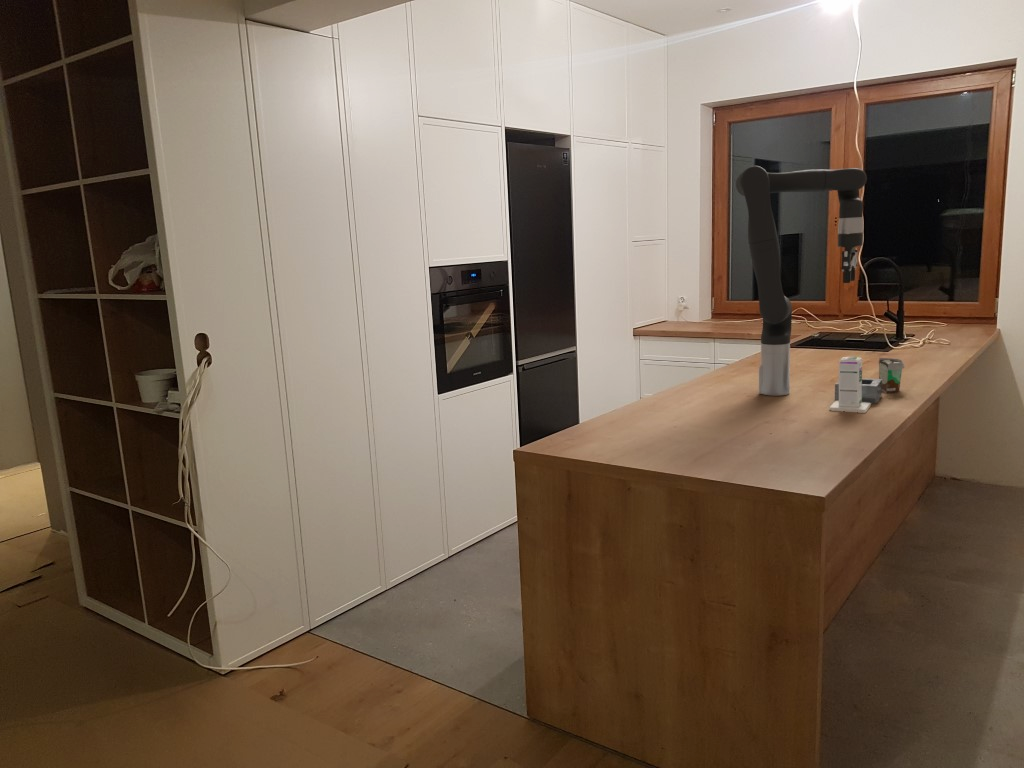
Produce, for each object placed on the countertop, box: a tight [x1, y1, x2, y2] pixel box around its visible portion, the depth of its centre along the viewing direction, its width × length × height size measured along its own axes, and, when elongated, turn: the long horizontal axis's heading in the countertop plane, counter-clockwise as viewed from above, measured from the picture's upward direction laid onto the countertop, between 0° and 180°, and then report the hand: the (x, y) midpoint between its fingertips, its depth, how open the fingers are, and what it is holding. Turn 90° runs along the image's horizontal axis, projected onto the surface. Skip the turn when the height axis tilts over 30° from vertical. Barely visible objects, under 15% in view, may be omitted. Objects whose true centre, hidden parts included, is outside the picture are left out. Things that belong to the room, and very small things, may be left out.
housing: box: [834, 377, 883, 405], centre depth 243 cm, size 12×12×6 cm
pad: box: [829, 400, 872, 414], centre depth 232 cm, size 10×10×1 cm
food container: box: [878, 357, 905, 394], centre depth 252 cm, size 12×6×10 cm, turn 168°
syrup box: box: [838, 356, 863, 407], centre depth 230 cm, size 6×6×14 cm
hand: (849, 281), depth 252 cm, fingers open, 8 cm apart
